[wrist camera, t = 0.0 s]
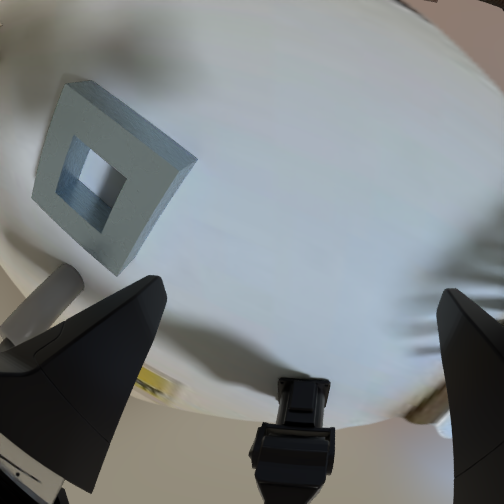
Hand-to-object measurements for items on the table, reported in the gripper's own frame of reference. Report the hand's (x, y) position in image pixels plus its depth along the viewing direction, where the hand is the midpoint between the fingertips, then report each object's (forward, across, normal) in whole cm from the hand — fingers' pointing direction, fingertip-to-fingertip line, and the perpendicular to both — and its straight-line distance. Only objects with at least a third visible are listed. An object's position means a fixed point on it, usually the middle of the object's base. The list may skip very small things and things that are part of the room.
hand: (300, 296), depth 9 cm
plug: (+15, +30, +12) cm, 36 cm away
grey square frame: (+15, +18, -1) cm, 23 cm away
